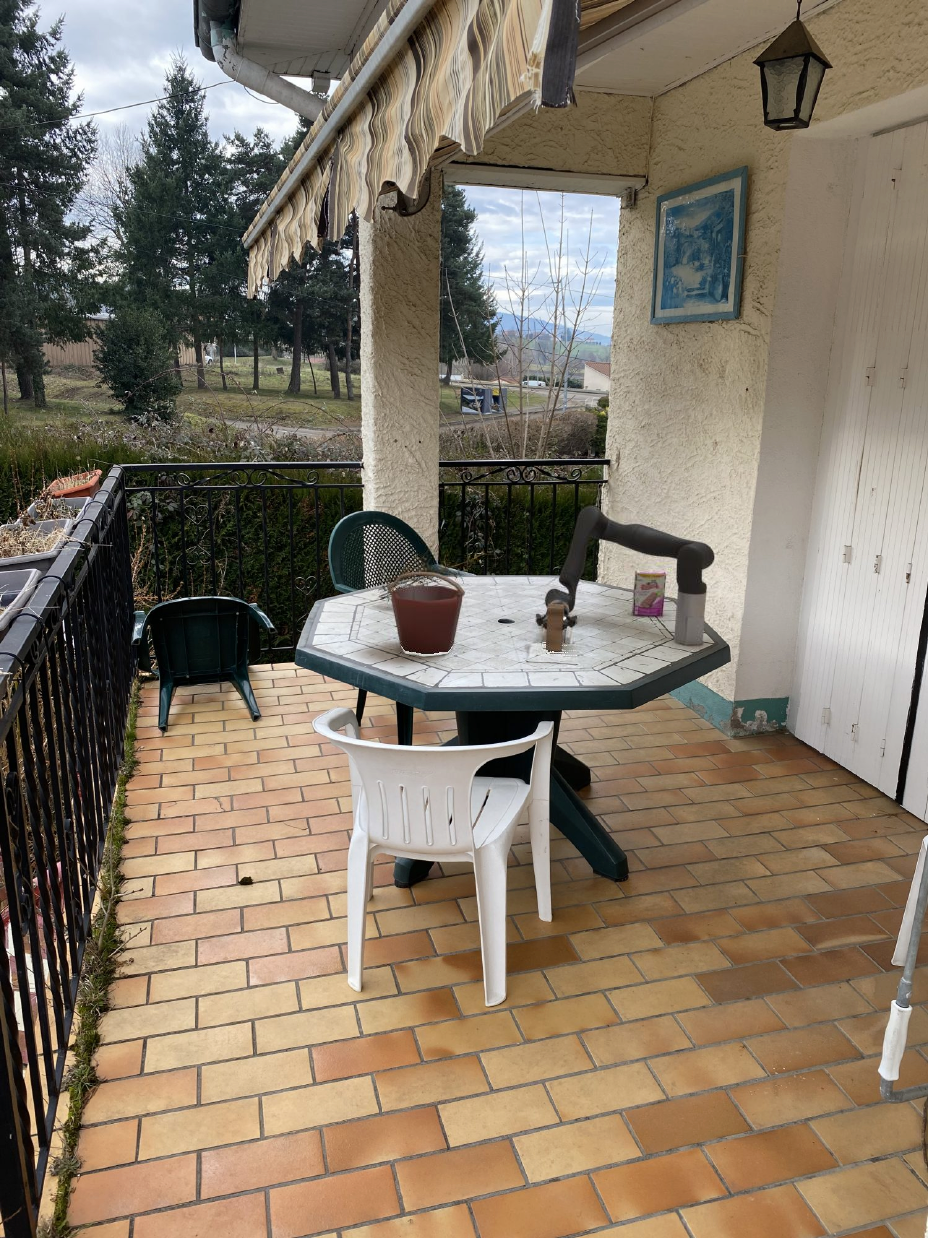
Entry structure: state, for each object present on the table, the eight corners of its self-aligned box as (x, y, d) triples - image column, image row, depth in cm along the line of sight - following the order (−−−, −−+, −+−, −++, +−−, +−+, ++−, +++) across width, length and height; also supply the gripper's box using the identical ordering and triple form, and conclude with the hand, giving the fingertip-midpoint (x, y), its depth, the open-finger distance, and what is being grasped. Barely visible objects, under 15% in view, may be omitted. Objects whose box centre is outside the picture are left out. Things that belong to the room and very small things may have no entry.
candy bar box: (632, 616, 332) (635, 572, 328) (631, 612, 337) (634, 569, 333) (663, 617, 331) (666, 573, 327) (661, 613, 336) (665, 570, 332)
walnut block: (546, 645, 290) (548, 603, 286) (562, 646, 289) (564, 604, 285) (545, 650, 285) (547, 607, 281) (561, 651, 284) (563, 608, 280)
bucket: (376, 652, 284) (375, 575, 277) (408, 635, 303) (408, 562, 297) (446, 663, 274) (447, 583, 268) (475, 644, 294) (476, 570, 287)
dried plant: (349, 566, 326) (457, 522, 310) (384, 558, 355) (484, 517, 339) (378, 644, 327) (488, 604, 311) (411, 629, 356) (512, 592, 340)
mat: (531, 643, 296) (531, 642, 296) (580, 646, 294) (580, 645, 294) (526, 661, 277) (526, 660, 277) (578, 664, 275) (578, 663, 274)
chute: (546, 623, 321) (546, 616, 320) (572, 624, 319) (572, 617, 319) (541, 643, 296) (542, 635, 296) (569, 644, 295) (570, 637, 294)
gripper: (536, 601, 298) (532, 614, 282) (579, 603, 296) (578, 616, 280) (535, 622, 300) (531, 636, 284) (578, 625, 298) (577, 639, 282)
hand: (554, 626), depth 282 cm, fingers closed on walnut block, 5 cm apart
